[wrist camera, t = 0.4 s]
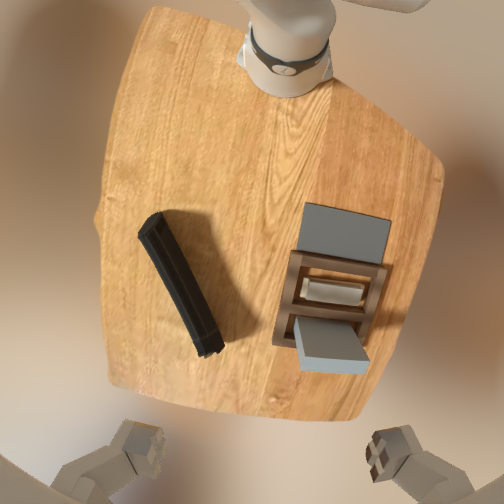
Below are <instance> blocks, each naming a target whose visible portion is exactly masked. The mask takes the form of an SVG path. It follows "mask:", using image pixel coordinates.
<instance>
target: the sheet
mask: <svg viewBox="0 0 504 504" xmlns="http://www.w3.org/2000/svg"><path fill="white" fill-rule="evenodd" d="M293 329H294V335H295V340H296V346H297V352H298V358H299V364H300V370H302V371H313V372H326V373H341V374H365V372H366V370H367V367H368V365H369V363H370V360H369V358H368V356H367V354H366V352H365V350H364V349H363V347H362V345H361V343H360V341H359V339H358V337H357V336H356V334H355V332H354V330H353V328H352V326H351V325H350V323H349V322H344V321H335V320H327V319H319V318H311V317H304V316H296V319H295V323H294V327H293Z"/></svg>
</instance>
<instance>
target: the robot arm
mask: <svg viewBox="0 0 504 504" xmlns="http://www.w3.org/2000/svg"><path fill="white" fill-rule="evenodd" d="M235 1H236V2H238V3H239V4H240V5H241V6H242V7H244V8H245V9H246V10H247V11H248V13H249V15H250V18H251V20H250V22H249V26H248V28H249V29H250V31H249V33H246V35H245V41H244V43H243V45H242V47H241V49H240V51H239V53H238V55H237V57H236V62H237V64H238V65H239V66H240V67H242V68H243V69H245V70H246V71H247V73H248V74H249V76H250V78H251V80H252V81H253V82H254V84H255V85H256V86H257V87H258V88H260V89H261V90H263V91H264V92H266V93H268V94H270V95H273V96H277V97H284V98H291V97H297V96H301V95H303V94H306V93H307V92H309V91H310V90H312V89H313V88H314V87H315V86H316V85H317V84H319V83H321V82H324V81H327V80H329V79H331V78H332V75H333V70H332V63H331V55H330V47H329V36H330V34H331V31H332V29H333V27H334V25H335V22H336V11H335V7H334V5H333V3H332V2H331V0H235ZM344 1H348V2H352V3H356V4H359V5H362V6H367V7H373V8H379V9H384V10H391V11H396V12H401V13H411V12H414V11H417V10H419V9H420V8H422V7H424V6H425V5H426V4H427V3H428V2H429V1H430V0H344ZM327 69H328V70H327ZM162 436H163V429H162V428H160V427H156V426H151V425H147V424H143V423H139V422H136V421H132V420H128V419H125V420H124V421H123V422H122V424H121V425H120V427H119V429H118V431H117V433H116V434H115V436H114V438H113V440H112V442H111V443H110V445H109V446H104V447H102V448H100V449H98V450H96V451H94V452H91V453H89V454H87V455H85V456H83V457H81V458H79V459H77V460H75V461H72V462H70V463H68V464H66V465H63V467H62V468H61V470H60V471H59V473H58V474H57V476H56V478H55V479H54V481H53V483H52V484H51V486H50V487H49V486H47V485H46V484H44V483H42V482H41V481H39V480H37V479H36V478H34V477H33V476H31V475H30V474H28V473H26V472H25V471H23V470H22V469H20V468H19V467H18V466H16V465H15V464H13V463H12V462H10V461H9V460H8V459H6V458H5V457H4V456H3V455H1V454H0V504H113V503H112V502H111V501H110V500H109V499H108V497H109V496H110V495H112V494H113V493H115V492H116V491H118V490H119V489H121V488H122V487H123V486H125V485H126V484H128V483H129V482H130V481H132V480H133V479H134V478H136V477H137V475H139V476H143V477H147V478H151V479H156V480H158V477H159V474H160V471H161V468H162V467H161V465H160V462H162V461H163V460H164V459H165V456H166V452H167V443H166V440H165V439H164V438H163V437H162ZM372 439H373V440H372V441H371V442H370V443H368V446H367V448H366V460H367V463H368V464H369V465H371V466H372V468H371V470H370V473H371V476H372V480H373V483H376V482H381V481H386V480H390V479H392V481H394V482H395V483H396V484H397V485H398V486H400V487H401V488H402V489H403V490H404V491H405V492H407V493H408V494H409V495H410V496H412V497H413V498H414V499H415V500H416V501H418V502H419V503H418V504H504V474H503V475H502V476H500V477H499V478H497V479H495V480H494V481H492V482H491V483H489V484H487V485H486V486H484V487H482V488H480V489H479V490H477V491H475V490H474V488H473V486H472V484H471V483H470V481H469V479H468V477H467V475H466V473H465V471H463V470H461V469H459V468H457V467H455V466H453V465H452V464H450V463H448V462H446V461H444V460H443V459H441V458H439V457H437V456H435V455H433V454H432V453H430V452H428V451H423V449H422V447H421V445H420V443H419V441H418V439H417V437H416V435H415V433H414V431H413V430H412V428H411V426H410V425H405V426H400V427H394V428H389V429H384V430H379V431H375V432H374V433H373V435H372Z"/></svg>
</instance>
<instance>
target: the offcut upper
mask: <svg viewBox="0 0 504 504" xmlns="http://www.w3.org/2000/svg"><path fill="white" fill-rule="evenodd" d="M362 292H363V289H362V288H361V287H360V286H356V285H349V284H342V283H335V282H328V281H322V280H315V279H309V280H308V284H307V289H306V293H305V297H306V300H313V301H321V302H328V303H336V304H344V305H352V306H359V302H360V299H361V296H362Z"/></svg>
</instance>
